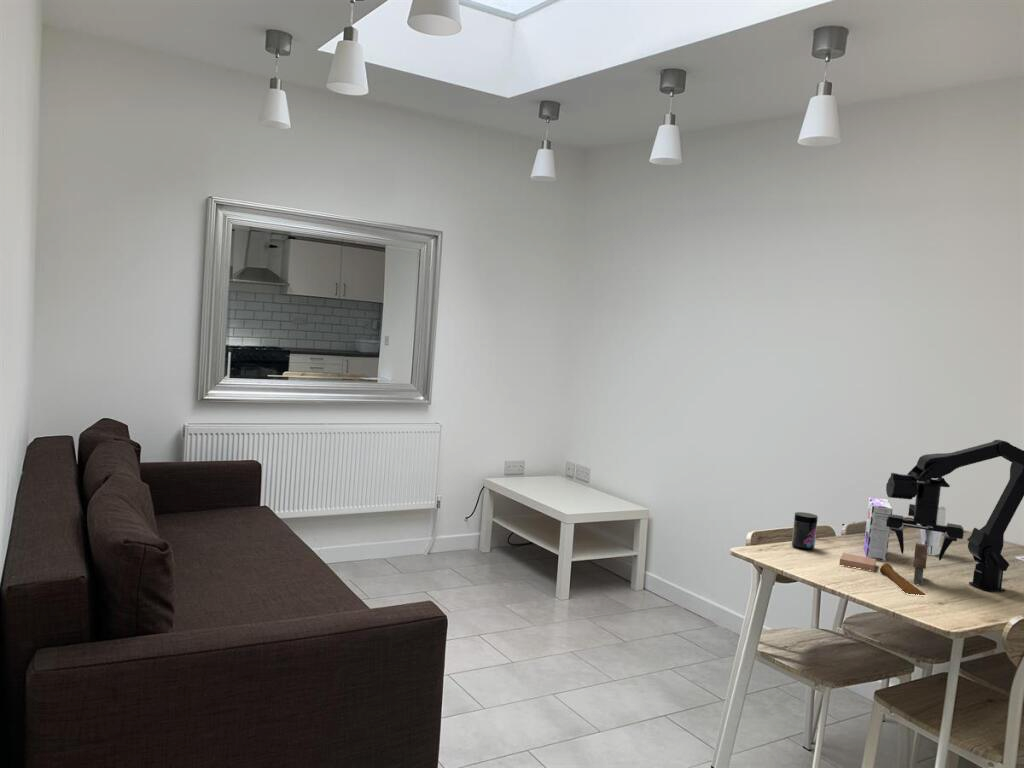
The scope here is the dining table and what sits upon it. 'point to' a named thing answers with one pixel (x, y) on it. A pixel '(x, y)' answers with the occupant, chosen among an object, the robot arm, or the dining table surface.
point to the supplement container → (804, 531)
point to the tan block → (857, 561)
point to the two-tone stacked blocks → (919, 562)
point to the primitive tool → (899, 580)
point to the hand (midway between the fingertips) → (920, 556)
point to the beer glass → (933, 534)
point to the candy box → (877, 529)
